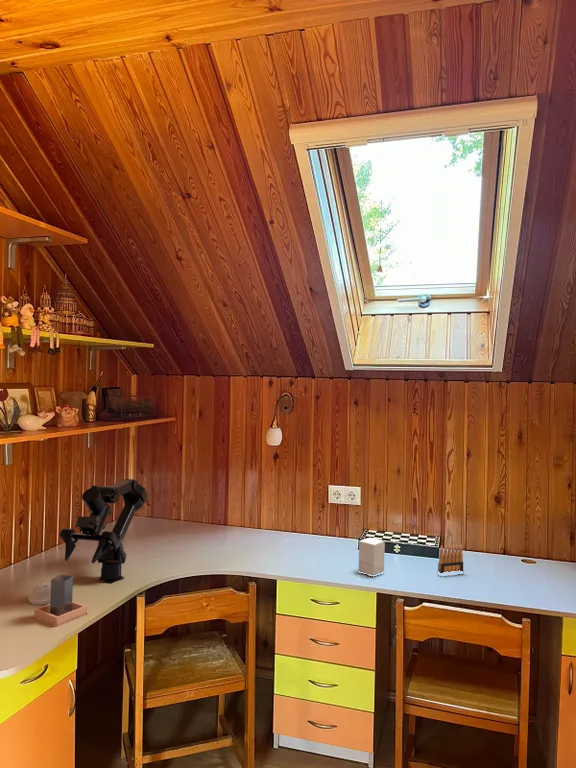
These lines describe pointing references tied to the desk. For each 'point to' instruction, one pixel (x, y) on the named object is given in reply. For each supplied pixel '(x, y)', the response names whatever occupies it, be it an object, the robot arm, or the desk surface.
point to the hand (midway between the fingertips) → (79, 561)
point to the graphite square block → (61, 595)
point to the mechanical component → (41, 594)
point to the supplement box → (371, 556)
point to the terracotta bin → (45, 615)
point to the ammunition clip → (450, 559)
